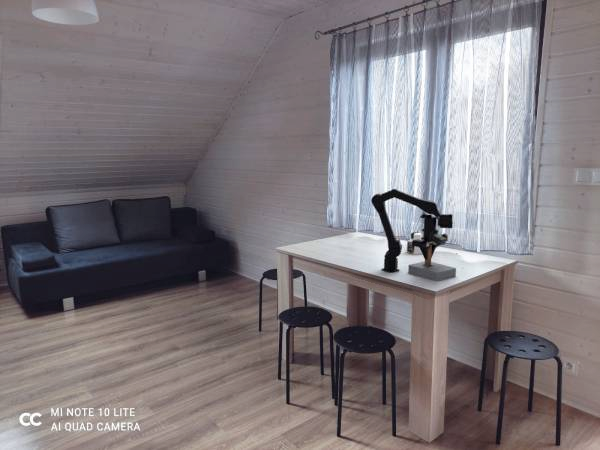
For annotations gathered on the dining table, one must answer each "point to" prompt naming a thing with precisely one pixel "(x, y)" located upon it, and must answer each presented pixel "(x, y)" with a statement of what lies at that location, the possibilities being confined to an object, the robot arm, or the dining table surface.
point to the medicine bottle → (414, 249)
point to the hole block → (432, 271)
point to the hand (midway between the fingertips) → (428, 259)
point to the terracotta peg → (429, 256)
